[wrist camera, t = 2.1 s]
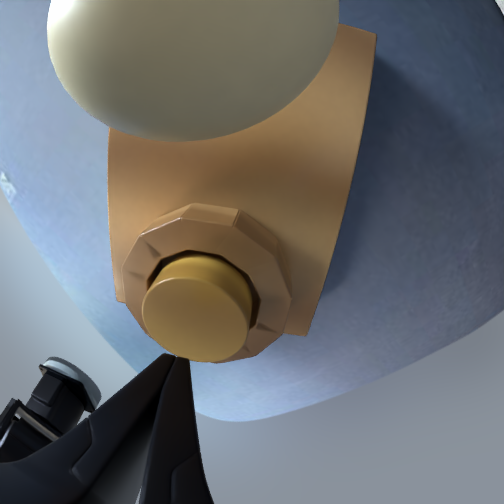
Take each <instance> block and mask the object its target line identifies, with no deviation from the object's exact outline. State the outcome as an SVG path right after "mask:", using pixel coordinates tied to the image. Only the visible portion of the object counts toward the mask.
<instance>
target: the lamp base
mask: <svg viewBox="0 0 504 504" xmlns="http://www.w3.org/2000/svg"><path fill="white" fill-rule="evenodd" d="M376 41H377V34H375V33H371V32H368V31H365V30H362V29H359V28H355V27H352V26H348V25H344V24H340V23H338V28H337V32H336V37H335V40H334V43H333V45H332V48H331V50H330V53H329V55H328V57H327V59H326V61H325V62H324V64H323V66H322V68H321V69H320V71H319V73H318V74H317V75H316V77H315V78H314V79H313V80H312V82H311V83H310V84H309V86H308V87H307V88H306V89H305V90H304V91H303V92H302V93H301V94H300V95H299V96H298V97H297V98H296V99H295V100H293V101H292V102H291V103H289V104H288V105H287V106H286V107H284V108H283V109H282V110H280V111H279V112H277V113H276V114H274V115H272V116H271V117H269V118H267V119H266V120H264V121H262V122H260V123H258V124H256V125H254V126H251V127H249V128H247V129H245V130H242V131H239V132H236V133H233V134H230V135H227V136H222V137H218V138H213V139H208V140H199V141H189V142H164V141H157V140H149V139H145V138H141V137H137V136H134V135H130V134H126V133H123V132H121V131H118V130H116V129H114V128H111V127H109V137H108V216H109V234H110V247H111V258H112V267H113V276H114V284H115V292H116V299H117V301H118V302H122V303H125V304H126V306H127V307H128V309H129V310H130V312H131V313H132V315H133V316H134V318H135V319H136V320H137V322H138V323H139V325H140V326H141V328H142V329H143V330H144V332H145V333H146V334H147V335H148V336H149V337H151V338H152V339H154V338H153V337H152V336H151V335H150V333H149V332H148V330H147V328H146V326H145V324H144V321H143V317H142V303H143V300H144V297H145V295H146V293H147V292H148V290H149V289H150V287H151V285H152V284H153V282H154V281H155V279H156V278H157V276H158V275H159V273H160V272H161V270H162V269H163V268H164V267H165V266H166V265H167V264H168V263H169V262H171V261H172V260H174V259H176V258H178V257H181V256H185V255H191V254H202V255H208V256H213V257H216V258H218V259H221V260H223V261H225V262H227V263H228V264H230V265H231V266H233V267H234V268H235V269H236V270H237V271H238V272H239V273H240V274H241V275H242V276H243V277H244V279H245V280H246V282H247V284H248V285H249V288H250V290H251V294H252V311H251V319H250V326H249V333H248V337H247V340H246V342H245V344H244V345H243V347H242V348H241V349H240V350H239V351H238V352H237V353H236V354H234V355H233V356H231V357H229V358H227V359H224V360H221V361H216V362H211V363H216V364H217V363H224V362H229V361H235V360H240V359H245V358H250V357H253V356H256V355H258V354H259V353H260V352H261V351H263V350H264V349H265V348H266V347H268V346H269V345H270V344H271V343H272V342H274V341H275V340H276V339H277V338H279V337H280V336H281V335H282V334H283V333H284V334H291V335H299V336H307V334H308V331H309V328H310V325H311V322H312V319H313V317H314V314H315V311H316V308H317V304H318V301H319V298H320V295H321V292H322V289H323V286H324V283H325V279H326V276H327V273H328V269H329V266H330V263H331V259H332V256H333V252H334V249H335V245H336V242H337V238H338V235H339V231H340V227H341V223H342V220H343V216H344V212H345V208H346V204H347V200H348V196H349V192H350V188H351V183H352V179H353V175H354V170H355V166H356V161H357V157H358V152H359V147H360V142H361V137H362V132H363V127H364V122H365V116H366V111H367V105H368V99H369V93H370V86H371V80H372V73H373V66H374V58H375V50H376Z"/></svg>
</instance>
